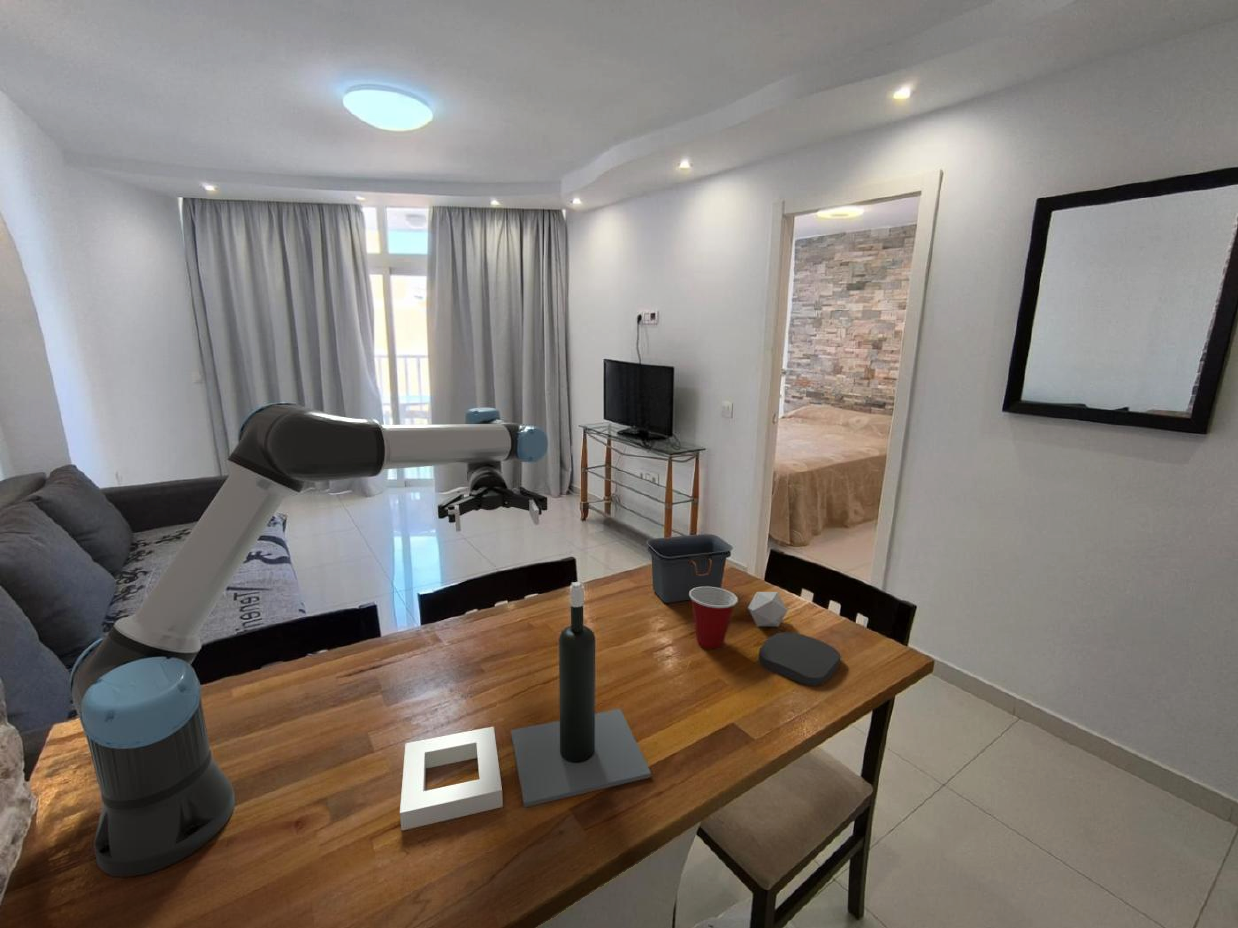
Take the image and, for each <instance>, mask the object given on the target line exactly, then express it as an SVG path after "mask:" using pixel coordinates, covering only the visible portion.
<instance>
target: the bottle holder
mask: <svg viewBox="0 0 1238 928" xmlns="http://www.w3.org/2000/svg"><path fill="white" fill-rule="evenodd" d="M495 735H496V734H495V727H494V726H489V727H488V726H487V727H484V728H479V729H478V728H477V729H473V730H469V731H464V732H458V733H452V734H446V735H443V736H442V735H441V736H437V737H431V738H426V739H423V740H422V739H421V740H416V741H411V742H407V743H406V742H405V745H404V746H405V747H404V749H405V750H404V758H403V771H402V772H403V773H402V782H401V785H402V786H401V794H400V806H399V817H400V819H399V820H400V830H401V831H405V830H411V829H415V828H418V827H423V826H427V825H428V826H429V825H431V824H436V823H439V822H441V823H442V822H444V821H449V820H453V819H458V818H462V817H465V816H469V815H475V814H478V813H482V812H487V811H490V810H495V809H500V808H503V807H504V805H503V804H504V803H503V789H502V779H501V771H500V765H499V758H498V757H499V756H498V749H497V742H496V736H495ZM473 759H477V761H476V762H477V769H478V779H473V780H469V781H465V782H461V783H456V784H450V785H446V786H442V787H438V788H432V789H428V790H426V779H427V777H426V774H427V773H426V772H427V769H432V768H434V767H435V768H436V767H439V766H444V765H449V764H455V763H460V762H463V761H469V760H473Z"/></svg>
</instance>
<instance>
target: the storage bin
mask: <svg viewBox="0 0 1238 928" xmlns="http://www.w3.org/2000/svg"><path fill="white" fill-rule="evenodd" d="M645 542H646V545H647V548H646V550H647V552H649V553H648V554H651V555H650V556H651V575H652V576H651V577H652V590H653V592H655V594H656V595H657V596H658V597H659V599H660V600H662V602H664V603H666V604H670V603H676V602H684V601H689V600H690V601H691V598H690V596H689V592H690V590H692V589H693V588H697V587H708V586H709V587H717V588H721V589H722V584H723V579H724V573H725V566H726V562H727V558H730V557H731V556H732V555H731V554H732V550H733V549H734V548H733V546H732V545H731V544H729V543H728V542H727V541H726V540H724V539H723V538H721V537H720V536H718V535H716V534H709V533H702V534H700V533H699V534H691V535H689V534H688V535H679V536H678V535H676V536H668V537H657V538H650V539H648V540H646V541H645Z"/></svg>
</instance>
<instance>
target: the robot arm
mask: <svg viewBox="0 0 1238 928" xmlns="http://www.w3.org/2000/svg"><path fill="white" fill-rule="evenodd" d="M500 415H501V413H500V411H499V410H498V409H497V408H494V407H474V408H469V409H468V410H467V411H466V412H465V421H464V422H465V424H459V423H458V424H457V423H456V424H454V423H450V424H444V423H443V424H380V423H379V421H378V420H376V419H374V418H359V417H358V418H356V417H347V416H342V415H338V414H334V413H330V412H326V411H322V410H318V409H314V408H310V407H306V406H303V405H300V404H297V403H293V402H283V401H281V402H273V403H272V402H271V403H267V404H263V405H261V406H258V407H257V408H254V409H253V410H251V412H249V413H248V414H247V415H246V416H245V418H243V420H242V422H241V423H240V426H239V428H238V434H237V445H236V446H235V448H234V449H233V451H232V452H231V454H230V455H229V456H228V458H227V460H226V461H225V462H226V465H227V468H228V471H229V475H228V477H227V479H226V480H225V481H224V483H223V484H222V486H221V487H220V489H219V490H218V492H217V493H216V495H215V496H214V498H213V500H211V502H210V503H209V505H208V507H207V508H206V509H205V510H204V512H203V514H202V515H201V517H200V519H199V520H198V521H197V523H196V525H195V526H194V527H193V528H192V530H191V532H190V533H189V534H188V535H187V536H186V537H187V538H186V539H185V540H184V542H183V543H182V544H181V546H180V548H179V549H178V551H177V552H176V553H175V555H174V556H173V558H172V559H171V561H170V562H169V564H168V565H167V566H166V568H165V570H164V571H163V573H162V574H161V576H159V578H158V580H157V582H156V583H155V585H154V586H153V587H152V589H151V590H150V592H149V593H148V595H147V596H146V598H145V599H144V600H143V602H142V603H141V605H140V606H139V608H138V610H137V611H136V612H135V613H134V614H132V615H129V616H127V617H126V616H125V617H123V618H120V619H118V620H116V621H115V622H114V624H113V625H112V627H111V628H110V630H109V631H108V633H107V634H106V635H105V636H104V637H101V638H99V639H97V640H96V641H94V642H93V643H92V644H91V645H89V646H88V647H86V649H85V650H83V652H82V653H80V655H79V656H78V657H77V660H76V661H75V663H74V665H73V667H72V670H71V672H70V673H71V674H70V678H69V687H68V688H69V694H70V700H71V701H72V703H73V705H74V707H75V709H76V713H77V715H78V718H79V722H80V725H81V727H82V729H83V732H84V734H85V738H86V741H87V745H88V749H89V752H90V755H91V760H92V764H93V769H94V771H95V772H94V773H95V776H96V780H97V784H98V789H99V792H100V795H101V801H102V806H101V810H100V815H99V819H98V824H97V828H96V833H95V836H94V837H95V838H94V841H93V849H94V850H93V851H94V855H95V858H96V863H97V866H98V868H99V869H100V870H101V871H102V872H104V873H105V874H107V875H110V876H111V877H112V876H114V877H118V878H119V877H122V878H125V877H136V876H141V875H147V874H149V873H150V874H151V873H153V872H156V871H160V870H162V869H165V868H167V867H169V866H172V865H174V864H177V863H178V862H180V861H181V860H183V859H185V858H187V857H189V856H190V855H192V854H194V853H195V852H196V851H198V850H199V849H201V848H202V847H203V846H205V845H206V844H207V843H208V842H209V841H210V840H212V839H213V838H215V836H216V835H218V833H219V832H220V831H221V830H222V829H223V828H224V826H225V825H226V824H227V823H228V821H229V819H230V817H231V816H232V814H233V811H234V808H235V802H236V799H235V792H234V787H233V783H232V782H231V781H230V779H229V778H228V776H226V774H225V773H224V771H223V770H222V769H221V768H220V766H219V765H218V764H217V762H216V761H215V760H214V759H213V756H212V753H211V752H212V751H211V747H210V741H209V737H208V736H209V735H208V731H207V729H208V728H207V725H206V720H205V719H206V717H205V715H204V708H203V702H202V689H201V687H202V686H201V682H200V680H199V678H198V676H197V674H196V672H195V669H194V667H192V663H193V662H194V660H195V658H196V656H197V654H198V653H199V652H200V650H201V649H202V644H201V643H202V642H201V640H200V638H199V632H200V630H201V629H202V628H203V626H204V624H205V622H206V621H207V620H208V618H209V616H210V614H211V613H212V611H213V610H214V608H215V607H216V605H217V604H218V602H219V601H220V599H221V598H222V596H223V595H224V593H225V591H226V590H227V588H228V587H229V585H230V583H231V582H232V580H233V579H234V577H235V576H236V574H237V573H238V571H239V570H240V568H241V567H242V565H243V563H244V561H246V559H247V557H248V555H249V554H250V552H251V551H252V549H253V547H255V545H256V543H257V542H258V540H259V538H260V537H261V535H262V534H263V532H264V531H265V529H266V527H267V526H268V524H270V522H271V520H272V519H273V517H274V515H275V514H276V512H277V511H278V510H279V508H280V505H281V504H282V502H284V500H286V499H288V498H291V497H295V496H298V495H299V494H300V492H302V489H303V488H304V486H305V485H306V483H307V482H308V483H309V482H311V483H318V482H319V483H321V482H330V481H331V482H332V481H333V482H334V481H341V480H349V479H362V478H370V477H372V478H373V477H377V476H379V475H380V474H381V473H382V472H383V471H384V470H395V469H410V468H422V467H434V466H435V467H437V466H448V465H464V464H466V465H467V467H466V469H467V470H466V479H467V482H468V485H469V491H470V492H468V493H469V494H464V493H463V492H462V490H461V491H460V490H457V491H454V494H453V495H452V496H450V497H449V498H447V499H445V500H444V501H442V502H441V503H439V504H437V517H438V519H440V520H441V519H443V520H444V519H445V518H447V517H448V523H450V524H454V523H455V531H456V532H457V533H458V532H461V529H462V528H461V527H462V526H461V516H463V515H465V514H468V513H470V512H472V511H475V512H477V511H479V510H483V511H494V510H497V509H499V508H505V509H510V508H515V509H520V510H523V511H528V512H529V515H530V517H531V519H532V522H533V523H534V525H535V526H536V525H540V515H542V514H543V512H544V511H548V497H547V496H545V495H542V494H539V493H536V492H534V491H532V490H528V489H527V488H525V487H523V486H520V487H518V489H517V490H516V491H513V490H512V489H509V487H508V485H507V483H506V480H505V478H504V476H503V472H502V462H503V461H504V462H505V461H506V462H507V461H510V462H511V461H520V462H522V463H532V464H534V463H537V462H539V461H541V460H542V459H543V458H544V457H545V455H546V453H547V452H548V445H549V444H548V443H549V439H548V435H547V434H546V432H545V431H544V430H543V429H542V428H540V427H538V426H534V425H532V424H526V423H525V424H523V423H517V422H511V421H508V420H502V419H501V416H500ZM542 511H543V512H542Z"/></svg>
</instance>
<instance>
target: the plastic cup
mask: <svg viewBox="0 0 1238 928" xmlns="http://www.w3.org/2000/svg"><path fill="white" fill-rule="evenodd" d="M689 596H690V598H691V600H690V601H691V608H692V612H693V614H692V615H693V622H694V630H695V635H696V641H697V644H698V646H699V647H701V648H703V649H706V650H719V649H721V648H722V646H723V644H724V643H725V639H726V634H727V632H728V628H729V624H730V621H731V618H732V614H733V612H734V611H733V610H734V608H735V605H736V604H737V603H738V601H739V599H738V596H736V595H735V593H733V592H732V591H729V590H728V589H725V588H722V587H721V588H717V587H709V586H708V587H697V588H693V589H692V590H690V592H689Z"/></svg>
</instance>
